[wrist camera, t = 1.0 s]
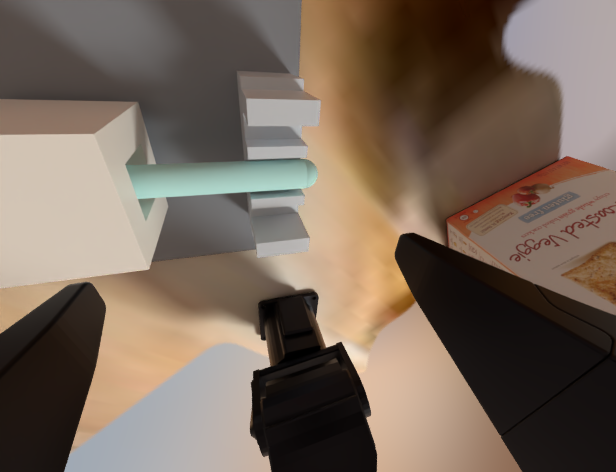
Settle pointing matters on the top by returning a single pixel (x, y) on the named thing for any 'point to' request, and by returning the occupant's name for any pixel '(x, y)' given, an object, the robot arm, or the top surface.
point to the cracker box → (549, 231)
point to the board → (181, 98)
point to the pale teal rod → (220, 177)
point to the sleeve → (73, 191)
